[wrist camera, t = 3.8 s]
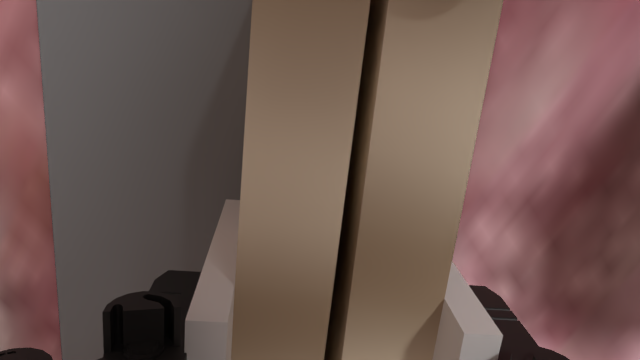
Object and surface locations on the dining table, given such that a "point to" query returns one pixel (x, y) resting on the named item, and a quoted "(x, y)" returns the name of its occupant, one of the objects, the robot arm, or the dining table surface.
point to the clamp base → (408, 173)
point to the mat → (137, 144)
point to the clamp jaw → (294, 172)
